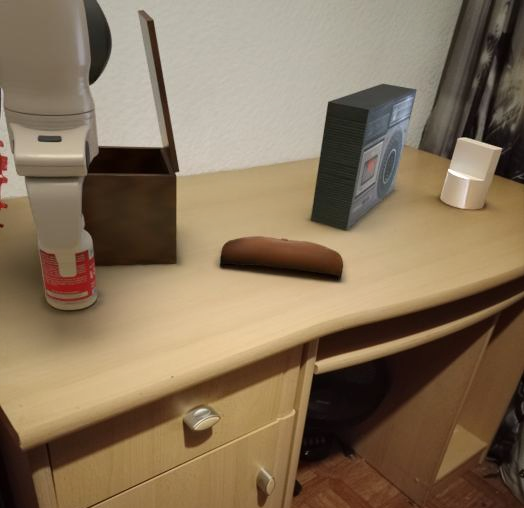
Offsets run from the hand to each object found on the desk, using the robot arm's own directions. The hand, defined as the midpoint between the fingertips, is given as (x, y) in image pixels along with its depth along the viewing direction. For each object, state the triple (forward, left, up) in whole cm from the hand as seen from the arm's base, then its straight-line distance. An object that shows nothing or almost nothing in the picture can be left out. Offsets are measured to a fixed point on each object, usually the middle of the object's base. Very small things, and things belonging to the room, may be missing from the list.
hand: (69, 256), depth 65 cm
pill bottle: (0, 0, -6) cm, 6 cm away
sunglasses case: (+30, +8, -6) cm, 31 cm away
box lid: (+12, +16, +16) cm, 25 cm away
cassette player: (+53, +33, -6) cm, 63 cm away
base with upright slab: (+78, +34, -6) cm, 85 cm away
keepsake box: (+6, +16, -6) cm, 18 cm away
